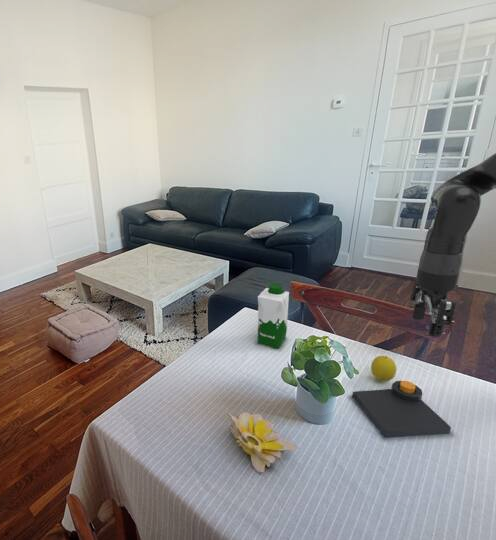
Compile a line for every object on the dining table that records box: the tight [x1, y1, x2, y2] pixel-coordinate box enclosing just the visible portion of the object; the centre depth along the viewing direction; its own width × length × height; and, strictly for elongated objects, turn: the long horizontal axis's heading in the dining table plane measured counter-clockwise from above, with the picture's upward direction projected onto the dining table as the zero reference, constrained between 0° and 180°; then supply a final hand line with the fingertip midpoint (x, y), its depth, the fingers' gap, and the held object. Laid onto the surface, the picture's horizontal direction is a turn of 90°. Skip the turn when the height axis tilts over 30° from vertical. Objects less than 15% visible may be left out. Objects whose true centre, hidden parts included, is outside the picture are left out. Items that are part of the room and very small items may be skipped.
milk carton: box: [257, 283, 290, 350], centre depth 113 cm, size 9×9×20 cm
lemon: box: [370, 355, 397, 382], centre depth 92 cm, size 6×6×8 cm
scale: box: [351, 380, 452, 438], centre depth 82 cm, size 15×14×4 cm
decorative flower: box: [225, 410, 297, 473], centre depth 75 cm, size 15×11×10 cm
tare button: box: [399, 380, 416, 394], centre depth 85 cm, size 3×3×2 cm
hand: (425, 326), depth 86 cm, fingers open, 8 cm apart
